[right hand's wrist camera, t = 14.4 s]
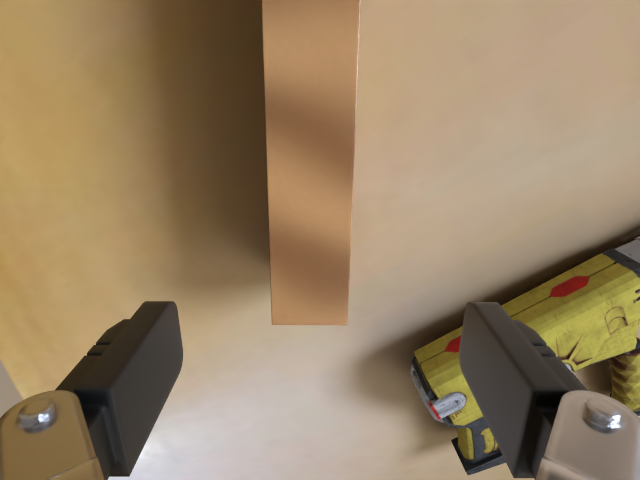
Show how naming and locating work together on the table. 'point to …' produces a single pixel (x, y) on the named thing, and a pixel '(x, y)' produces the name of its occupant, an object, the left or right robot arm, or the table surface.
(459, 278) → the table surface
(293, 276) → the bar
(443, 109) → the table surface
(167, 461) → the table surface
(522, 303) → the toy gun
